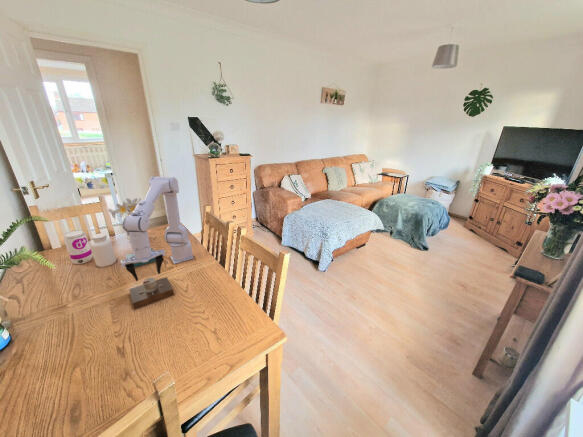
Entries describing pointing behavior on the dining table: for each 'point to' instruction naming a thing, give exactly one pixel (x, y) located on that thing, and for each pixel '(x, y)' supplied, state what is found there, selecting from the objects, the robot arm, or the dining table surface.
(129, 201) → the flower vase
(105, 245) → the pill bottle
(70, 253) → the supplement can
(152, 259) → the push button box
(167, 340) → the dining table surface
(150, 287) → the lock dial
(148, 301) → the lock panel
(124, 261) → the robot arm
